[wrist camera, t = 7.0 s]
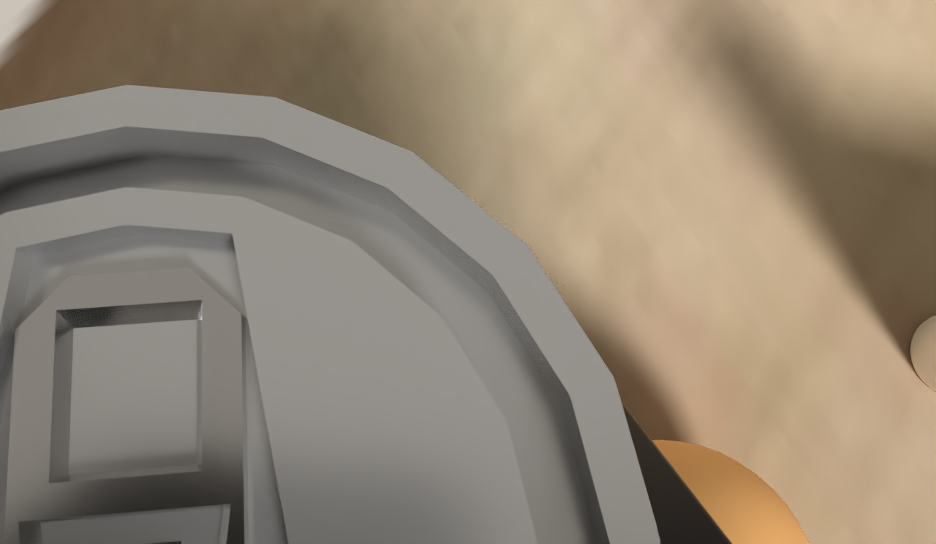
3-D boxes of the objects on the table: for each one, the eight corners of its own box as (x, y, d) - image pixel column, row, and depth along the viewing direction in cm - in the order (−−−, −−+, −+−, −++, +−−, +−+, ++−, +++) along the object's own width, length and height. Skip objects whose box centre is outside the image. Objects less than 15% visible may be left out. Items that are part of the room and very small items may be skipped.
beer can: (210, 381, 16) (-407, 75, 4) (498, 359, 16) (635, 15, 5) (211, 697, 15) (-676, 1457, 3) (525, 668, 15) (815, 1268, 3)
